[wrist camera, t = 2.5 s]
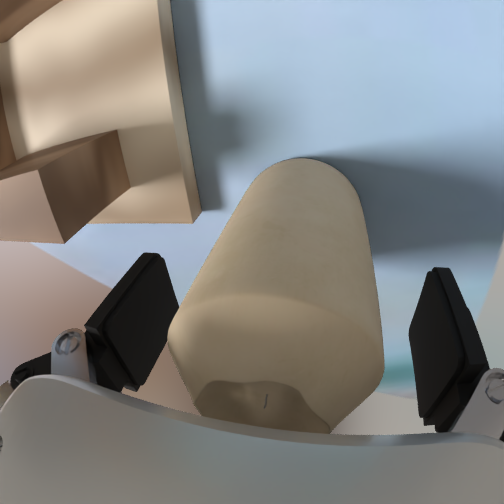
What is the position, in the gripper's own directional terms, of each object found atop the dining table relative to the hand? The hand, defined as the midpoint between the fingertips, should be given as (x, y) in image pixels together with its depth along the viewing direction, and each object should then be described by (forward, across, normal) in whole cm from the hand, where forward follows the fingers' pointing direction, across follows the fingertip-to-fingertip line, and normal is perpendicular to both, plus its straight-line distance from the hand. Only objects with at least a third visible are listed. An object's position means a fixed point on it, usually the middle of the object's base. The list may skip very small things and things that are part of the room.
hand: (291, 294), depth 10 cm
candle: (+5, 0, -1) cm, 5 cm away
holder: (+5, +12, -10) cm, 16 cm away
